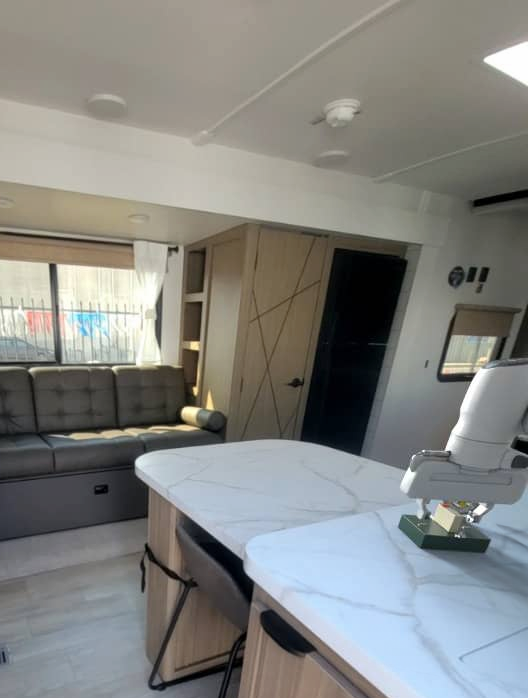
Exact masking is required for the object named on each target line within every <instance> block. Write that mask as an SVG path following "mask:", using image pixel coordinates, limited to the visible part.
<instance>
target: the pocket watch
mask: <svg viewBox="0 0 528 698" xmlns="http://www.w3.org/2000/svg"><path fill="white" fill-rule="evenodd" d="M442 504H448V505H449V506H450V507H451V508H452V509H454V510H455V511H457V512H458V513H459V514H461V515H462V516H464V518H463V520H464V521H466V522H467V523H469V524H470V525H471V523H470V522H469V521H467V520H466V517H467V516H468V513H469V511H470V512H473V511H474V510H475V509H476V508H477V507H478V506H480V504H479V503H477V502H461V501H446V500H442ZM457 505H458V506H457ZM434 515H435V512H434V513H433V516H434ZM465 515H467V516H465Z"/></svg>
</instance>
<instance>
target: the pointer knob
mask: <svg viewBox="0 0 528 698" xmlns="http://www.w3.org/2000/svg"><path fill="white" fill-rule="evenodd" d="M434 513H435V515H434V514H433V516H434V517H433V520H434V521H435V522H437V523H438V524H439V525H440V526H442V527H443V528H444V529H445V530H447V531H448V532H454V533H457V532H458V529H459V527H460V525H461V522H462V520H463V518H464V517H465V515H461V514H459V513H458V512H457V511H455V510H454V509H452V508H451V507H450V506H449V505H448V504H444V503H443V502H441V503H439V504H438V505H437V507H436V509H435V512H434Z"/></svg>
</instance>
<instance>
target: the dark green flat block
mask: <svg viewBox="0 0 528 698" xmlns="http://www.w3.org/2000/svg"><path fill="white" fill-rule="evenodd" d="M429 517H430V518H429V519H428V520H425V519H419V518H418V517H417V514H406V513H405V514H404V513H403V514H401V516H400V519H399V522H398V525H397V528H398V529H399V530H400V531H401V532H402V533H403V534H405V535H406V537H407V538H408V539H409V540H411V541H412V543H414V544H415V545H416V547H418V548H419V549H426V550H436V551H437V550H439V551H450V552H451V551H452V552H465V553H477V554H478V553H479V554H486V552H487V550H488V548H489V546H490V544H491V541H492V538H490V537H488V536H487V535H486V534H484V533H482V532H481V531H480V530H478V529H477V528H476V527H474V526H473V525H472V524H471V523H470V524H469V523H467V522H466V521H464V520H462V522H461V525H460V527H459V529H458V532H457V533H454V532H448V531H447V530H445V529H444V528H443V527H442V526H440V525H439V524H438V523H437V522H435V521H434V520H433V517H434V514H431V515H430V516H429Z"/></svg>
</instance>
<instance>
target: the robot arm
mask: <svg viewBox="0 0 528 698" xmlns="http://www.w3.org/2000/svg"><path fill="white" fill-rule="evenodd" d="M517 436H526V437H528V357H511V358H510V357H509V358H501V359H496V360H492V361H489V362H487V363H485V364H483V365H482V366H481V367H480V368H479V369H478V371H477V372H476V374H475V375H474V377H473V378H472V380H471V382H470V385H469V386H468V388H467V390H466V393H465V396H464V397H463V400H462V403H461V406H460V409H459V418H458V421H457V423H456V425H455V426H454V427H453V428H452V430H451V433H450V434H449V438H448V441H447V443H446V446H445V449H444V450H432V449H423V450H422V451H419V452H417V453H416V454H414V455H412V457H411V459H410V463H409V466H408V469H407V470H406V472H405V475H404V476H403V479H402V480H401V483H400V486H399V489H400V491H401V493H403V494H404V496H406V497H407V498H409V499H415V501H416V505H417V508H418V510H417V513H416V515H417V517H418V518H419V519H425V520H428V519H429V518H430V517H429V516H430V515H432V511H430V510H429V509H428V508H427V507H428V506H427V505H429V504H430V503H431V500H432V501H443V500H446V501H456V502H459V501H461V502H466V503H467V502H477V503H479V504H480V506H478V507H477V508H476V509H475V510H474V511H473V512H470V511H469V513H468V514H467V516H465V517H466V520H467V521H469V522H470V524H480V523H481V521H482V519H483V517H484V516H485V515H486V514H488V513H489V512H490V511H491V510H493V509H494V507H495V505H509V506H512V505H515V504H516V503H517V502H519V501H520V500H521V498H523V495H524V493H525V491H526V489H527V487H528V454H527V453H524V452H521V451H519V450H518V449H516V448H513V447H511V446H512V443H513V441H514V439H515V438H516V437H517Z"/></svg>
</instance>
